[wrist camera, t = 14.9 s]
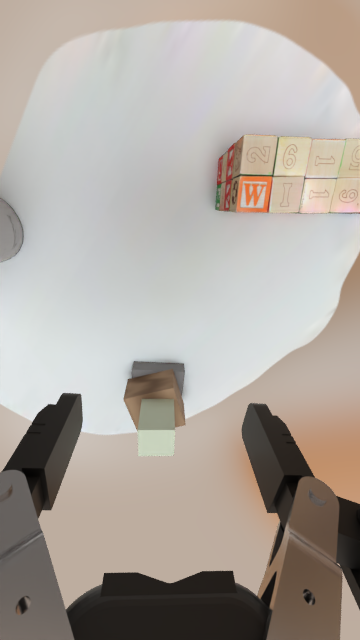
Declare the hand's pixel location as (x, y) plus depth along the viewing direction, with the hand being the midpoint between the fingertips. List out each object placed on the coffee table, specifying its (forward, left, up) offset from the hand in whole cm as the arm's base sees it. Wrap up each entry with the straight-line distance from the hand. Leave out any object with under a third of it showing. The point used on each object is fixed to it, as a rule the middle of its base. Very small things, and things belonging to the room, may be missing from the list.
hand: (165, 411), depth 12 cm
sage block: (0, -21, -21) cm, 30 cm away
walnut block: (0, -21, -26) cm, 34 cm away
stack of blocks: (+16, +13, -29) cm, 36 cm away
